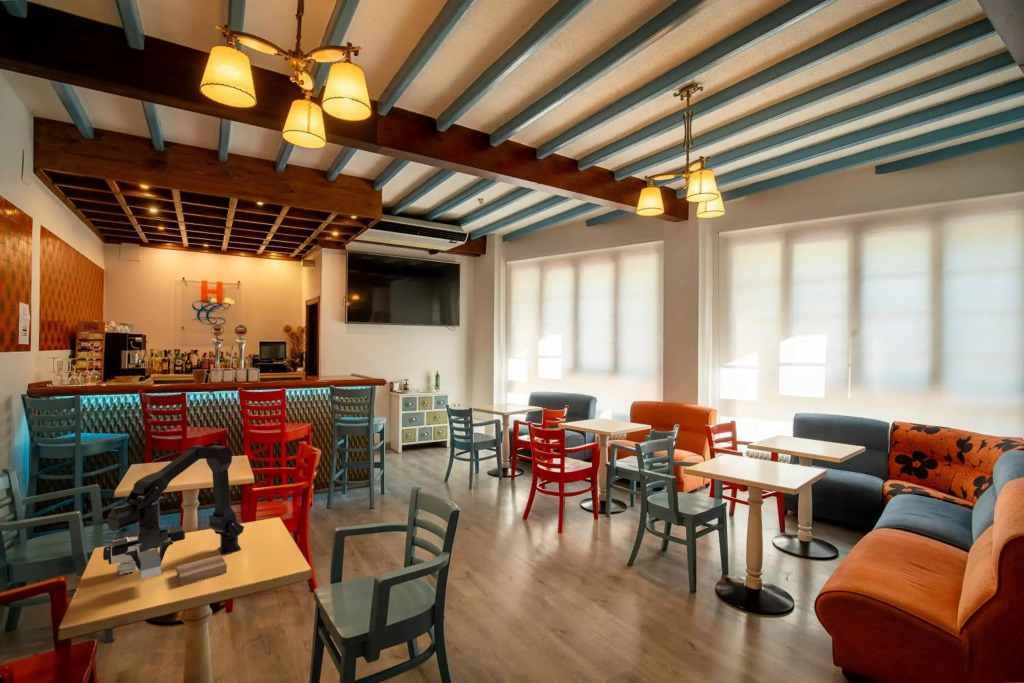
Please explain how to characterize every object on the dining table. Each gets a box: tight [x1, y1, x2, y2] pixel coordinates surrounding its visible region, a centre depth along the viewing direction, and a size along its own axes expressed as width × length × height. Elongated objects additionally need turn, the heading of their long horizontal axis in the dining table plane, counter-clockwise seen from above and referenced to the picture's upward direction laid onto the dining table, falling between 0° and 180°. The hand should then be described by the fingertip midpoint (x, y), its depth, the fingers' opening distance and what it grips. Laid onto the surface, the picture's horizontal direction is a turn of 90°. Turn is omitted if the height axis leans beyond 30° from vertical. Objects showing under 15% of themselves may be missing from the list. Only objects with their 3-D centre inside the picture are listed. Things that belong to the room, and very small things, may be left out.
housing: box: [138, 548, 162, 580], centre depth 159 cm, size 9×5×5 cm, turn 41°
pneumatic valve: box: [102, 535, 148, 575], centre depth 169 cm, size 6×12×12 cm, turn 120°
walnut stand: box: [176, 554, 228, 586], centre depth 168 cm, size 9×13×3 cm
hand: (149, 566), depth 160 cm, fingers closed on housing, 5 cm apart
